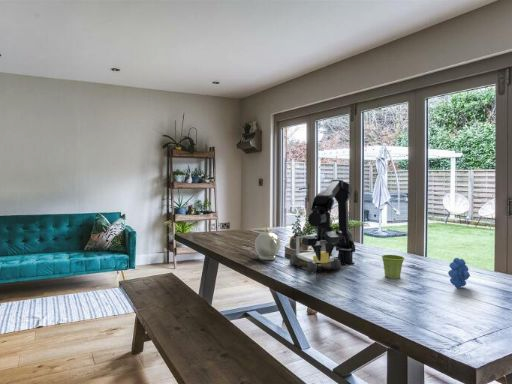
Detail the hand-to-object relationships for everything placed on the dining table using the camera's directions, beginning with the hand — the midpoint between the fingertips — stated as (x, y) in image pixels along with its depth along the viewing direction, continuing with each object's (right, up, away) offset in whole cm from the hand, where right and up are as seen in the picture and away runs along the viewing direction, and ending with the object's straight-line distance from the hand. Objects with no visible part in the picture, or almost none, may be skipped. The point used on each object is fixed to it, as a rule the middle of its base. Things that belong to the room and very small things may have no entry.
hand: (323, 259), depth 159 cm
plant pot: (+30, -8, +1) cm, 31 cm away
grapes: (+49, -8, -17) cm, 53 cm away
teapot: (-22, -7, +36) cm, 43 cm away
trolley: (-1, -7, +19) cm, 20 cm away
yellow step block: (-1, -1, +2) cm, 2 cm away
